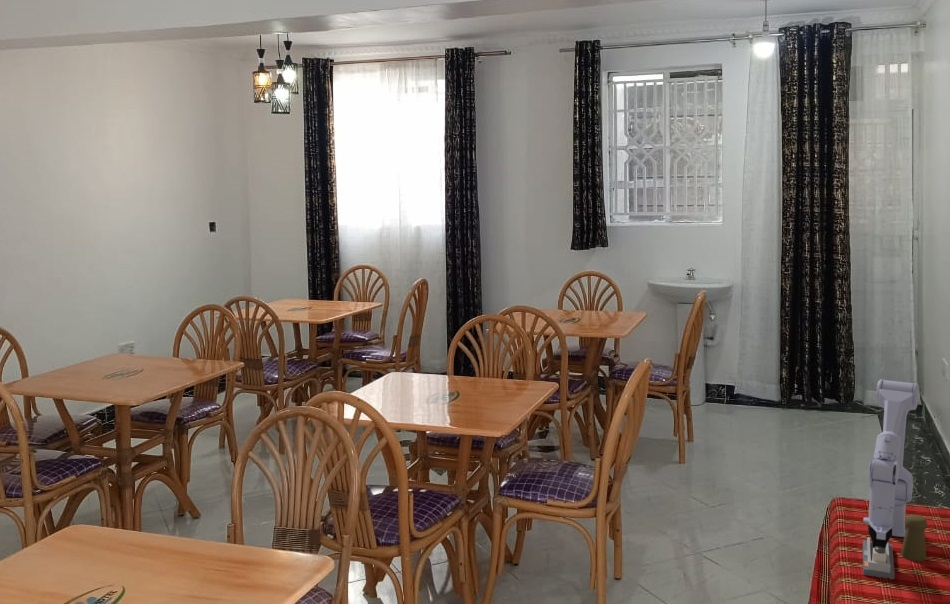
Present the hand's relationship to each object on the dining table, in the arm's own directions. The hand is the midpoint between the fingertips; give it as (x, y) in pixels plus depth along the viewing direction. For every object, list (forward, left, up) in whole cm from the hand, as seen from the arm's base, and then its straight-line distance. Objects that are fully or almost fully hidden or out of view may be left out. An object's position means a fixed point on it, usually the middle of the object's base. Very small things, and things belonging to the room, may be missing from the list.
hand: (878, 554), depth 221 cm
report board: (-1, 0, -2) cm, 2 cm away
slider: (+5, 0, -1) cm, 5 cm away
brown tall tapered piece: (-8, +9, -3) cm, 12 cm away
